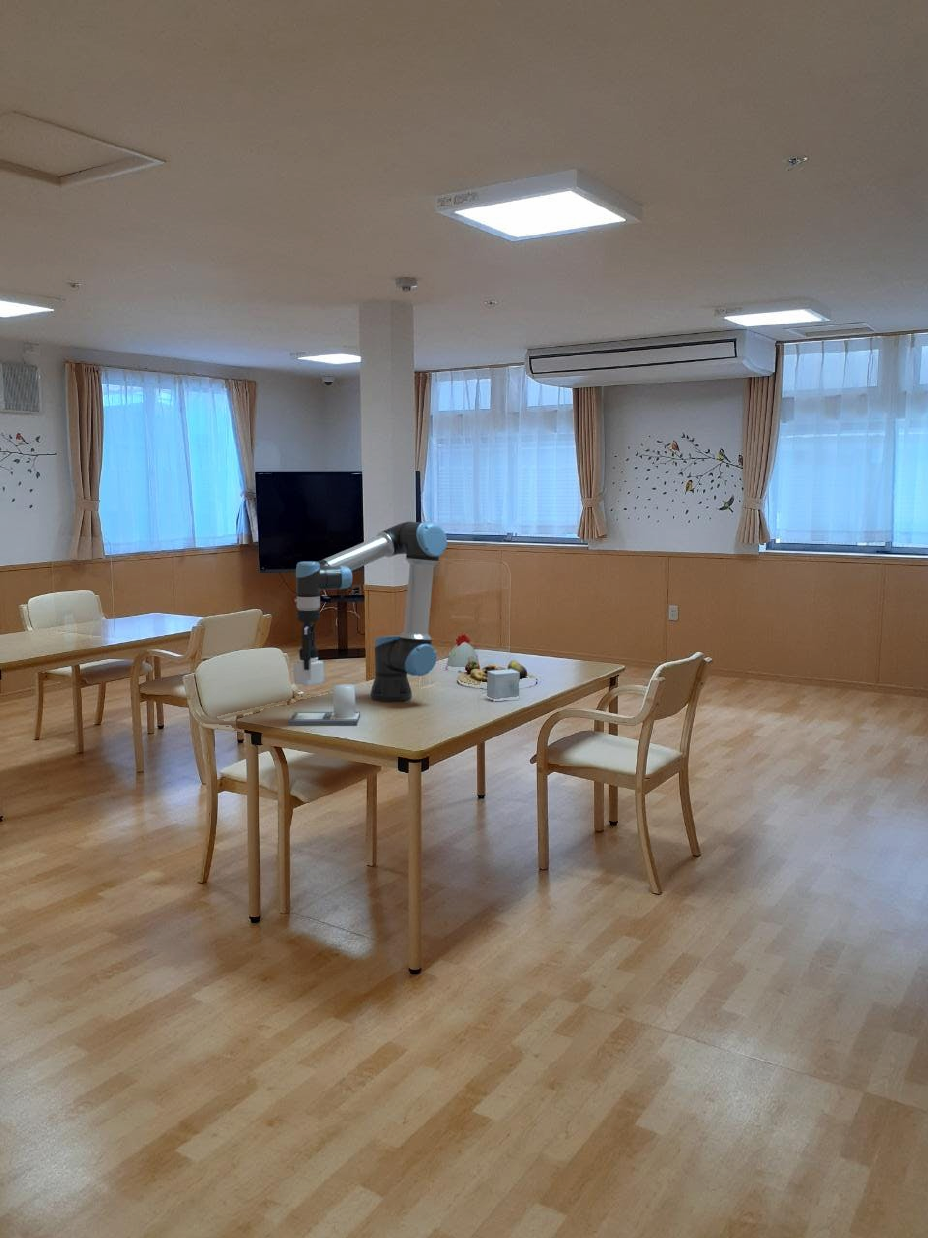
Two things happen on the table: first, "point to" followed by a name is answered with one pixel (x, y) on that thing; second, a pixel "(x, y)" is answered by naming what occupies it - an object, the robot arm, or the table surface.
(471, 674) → the wooden plate with food
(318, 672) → the medicine bottle
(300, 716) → the dock board
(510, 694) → the skincare box
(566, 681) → the table surface
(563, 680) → the table surface
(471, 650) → the white dome figure
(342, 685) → the plastic jar
